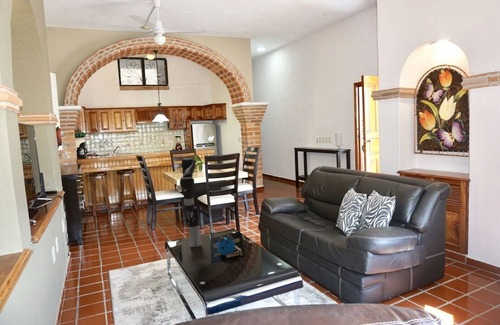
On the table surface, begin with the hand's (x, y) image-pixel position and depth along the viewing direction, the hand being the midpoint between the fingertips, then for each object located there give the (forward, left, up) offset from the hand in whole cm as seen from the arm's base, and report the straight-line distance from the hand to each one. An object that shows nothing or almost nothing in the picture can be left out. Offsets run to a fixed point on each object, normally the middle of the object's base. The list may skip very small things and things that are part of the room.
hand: (191, 224), depth 273 cm
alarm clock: (+10, +23, -26) cm, 36 cm away
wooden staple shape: (+10, +27, -26) cm, 39 cm away
